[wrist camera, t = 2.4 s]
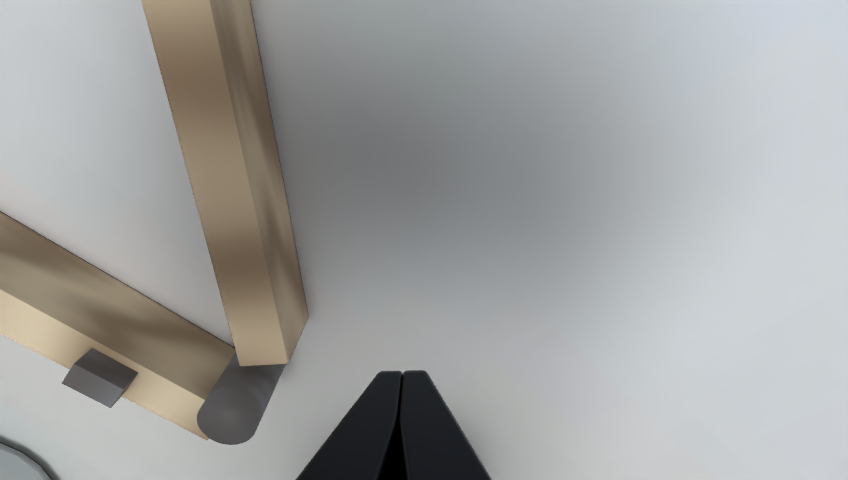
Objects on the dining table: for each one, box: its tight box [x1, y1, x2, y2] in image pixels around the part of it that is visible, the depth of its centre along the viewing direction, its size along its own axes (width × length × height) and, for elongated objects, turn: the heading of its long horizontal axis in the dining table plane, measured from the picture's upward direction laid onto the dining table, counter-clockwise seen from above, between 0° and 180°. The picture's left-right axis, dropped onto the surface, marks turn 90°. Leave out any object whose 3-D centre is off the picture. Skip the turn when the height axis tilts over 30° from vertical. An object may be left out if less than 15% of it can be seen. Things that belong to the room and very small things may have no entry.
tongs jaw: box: [142, 0, 308, 366], centre depth 15 cm, size 22×2×4 cm, turn 3°
